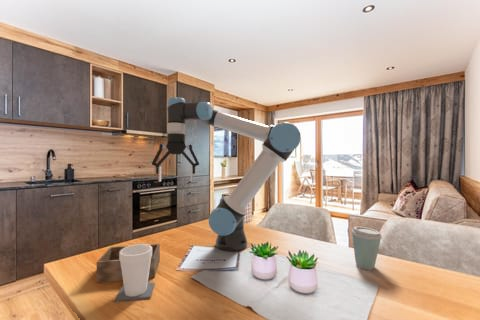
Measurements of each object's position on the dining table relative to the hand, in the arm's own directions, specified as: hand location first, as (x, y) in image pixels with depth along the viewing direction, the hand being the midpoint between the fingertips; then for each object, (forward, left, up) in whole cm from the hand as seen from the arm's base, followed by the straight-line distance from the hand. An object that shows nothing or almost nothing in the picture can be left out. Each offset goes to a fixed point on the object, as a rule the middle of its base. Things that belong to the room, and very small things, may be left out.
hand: (175, 181), depth 105 cm
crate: (+15, +15, -32) cm, 38 cm away
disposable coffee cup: (-75, +27, -32) cm, 86 cm away
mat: (+10, +30, -32) cm, 45 cm away
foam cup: (+10, +30, -31) cm, 44 cm away
